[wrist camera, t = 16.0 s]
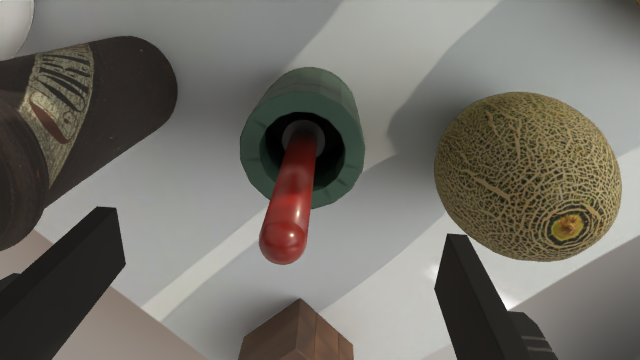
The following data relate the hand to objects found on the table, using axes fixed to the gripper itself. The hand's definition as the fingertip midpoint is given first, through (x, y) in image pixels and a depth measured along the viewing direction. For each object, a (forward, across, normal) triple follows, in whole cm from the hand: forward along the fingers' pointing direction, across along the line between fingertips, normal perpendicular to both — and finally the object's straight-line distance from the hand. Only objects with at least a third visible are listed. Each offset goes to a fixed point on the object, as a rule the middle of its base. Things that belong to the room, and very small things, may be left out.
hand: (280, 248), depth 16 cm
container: (+21, -16, +1) cm, 26 cm away
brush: (+21, 0, 0) cm, 21 cm away
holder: (+21, 0, -27) cm, 34 cm away
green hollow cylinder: (+21, 0, 0) cm, 21 cm away
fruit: (+22, +15, -2) cm, 27 cm away
